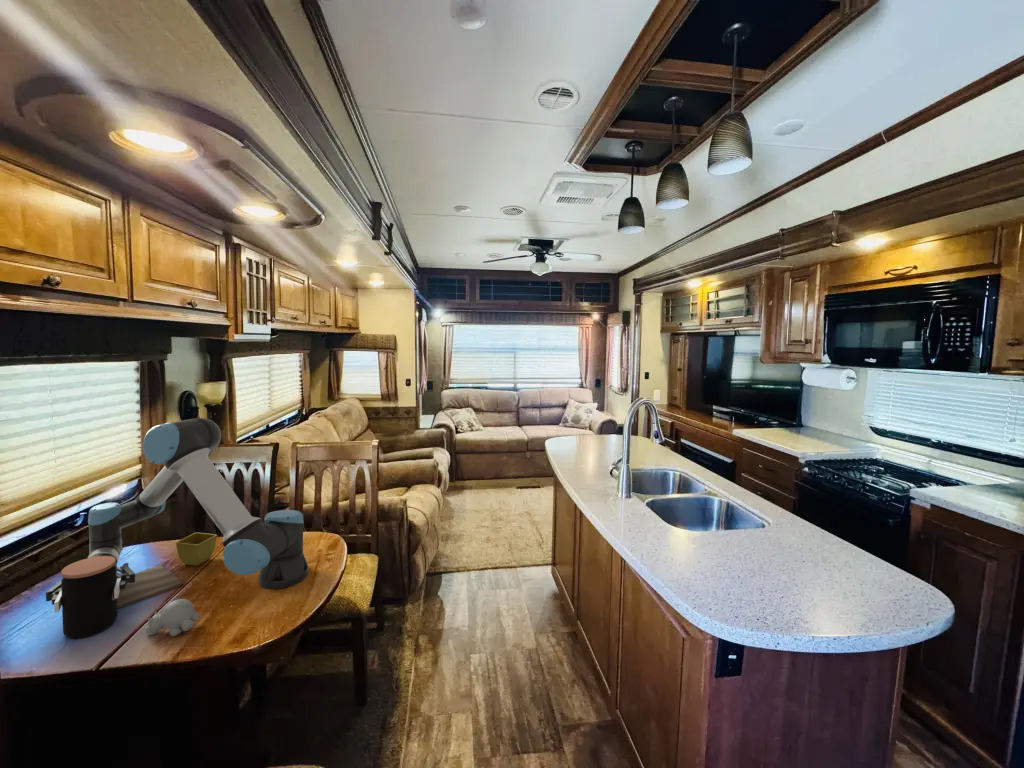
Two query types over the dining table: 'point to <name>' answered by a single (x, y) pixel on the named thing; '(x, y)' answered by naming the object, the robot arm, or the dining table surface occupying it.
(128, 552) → the dining table surface
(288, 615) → the dining table surface
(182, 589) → the dining table surface
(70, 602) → the coffee jar
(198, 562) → the flower pot
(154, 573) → the walnut board
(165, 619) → the chubby cartoon animal
